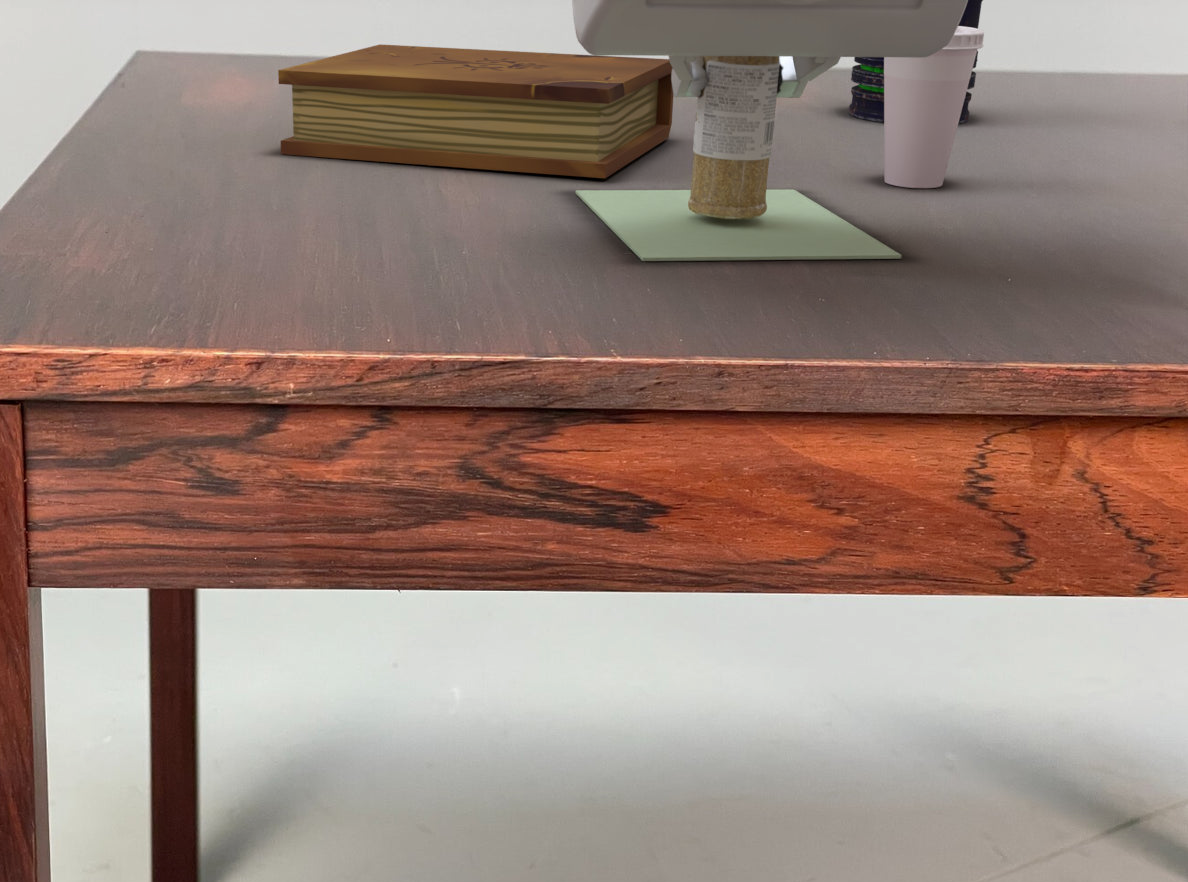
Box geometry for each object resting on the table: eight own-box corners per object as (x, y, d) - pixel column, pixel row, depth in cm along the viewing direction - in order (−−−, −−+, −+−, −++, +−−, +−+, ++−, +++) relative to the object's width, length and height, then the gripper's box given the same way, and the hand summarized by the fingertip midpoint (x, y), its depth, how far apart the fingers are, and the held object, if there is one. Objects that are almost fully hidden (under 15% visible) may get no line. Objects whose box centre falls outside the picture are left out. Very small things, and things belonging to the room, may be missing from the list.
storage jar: (906, 104, 140) (929, -81, 135) (995, 120, 133) (1024, -75, 127) (822, 111, 135) (842, -81, 130) (909, 128, 128) (935, -75, 122)
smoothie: (891, 193, 103) (920, -42, 97) (846, 174, 108) (871, -48, 103) (982, 190, 104) (1016, -41, 99) (933, 172, 110) (962, -48, 104)
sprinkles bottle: (707, 202, 96) (726, -40, 90) (779, 212, 93) (804, -36, 88) (673, 214, 92) (691, -37, 87) (747, 225, 90) (770, -32, 85)
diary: (670, 138, 121) (676, 58, 118) (605, 181, 104) (610, 89, 102) (383, 117, 127) (383, 40, 125) (280, 154, 111) (278, 66, 109)
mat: (901, 258, 86) (901, 254, 86) (642, 261, 84) (642, 257, 84) (793, 192, 102) (794, 189, 102) (575, 193, 100) (575, 190, 100)
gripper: (1000, -140, 80) (901, 43, 93) (596, -150, 78) (551, 40, 91) (1027, -39, 78) (921, 135, 91) (610, -46, 75) (562, 134, 88)
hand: (733, 88), depth 91 cm, fingers closed on sprinkles bottle, 4 cm apart
